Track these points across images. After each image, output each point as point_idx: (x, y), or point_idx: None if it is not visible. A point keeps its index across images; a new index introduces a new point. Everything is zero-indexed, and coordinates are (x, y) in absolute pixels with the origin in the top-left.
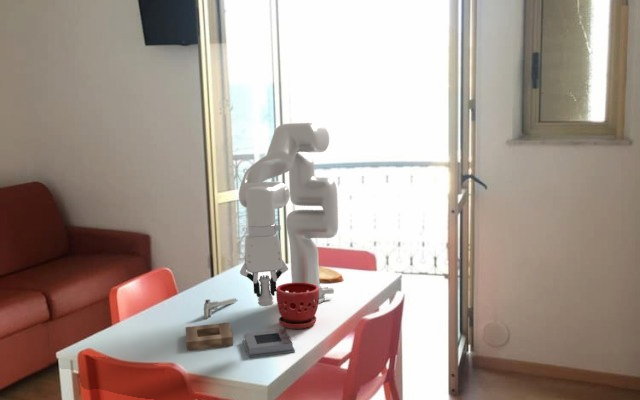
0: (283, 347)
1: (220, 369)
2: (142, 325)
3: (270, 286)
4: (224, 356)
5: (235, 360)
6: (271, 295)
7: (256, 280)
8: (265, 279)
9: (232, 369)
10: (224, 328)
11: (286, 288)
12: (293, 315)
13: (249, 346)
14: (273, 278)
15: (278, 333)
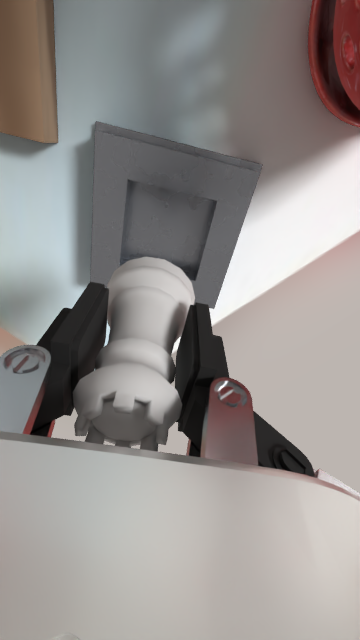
0: None
1: (18, 306)
2: None
3: (187, 346)
4: (27, 231)
5: (57, 274)
6: (181, 332)
7: (43, 426)
8: (123, 444)
9: (47, 318)
10: None
11: None
12: (354, 104)
13: (93, 271)
14: (193, 454)
15: (216, 208)
